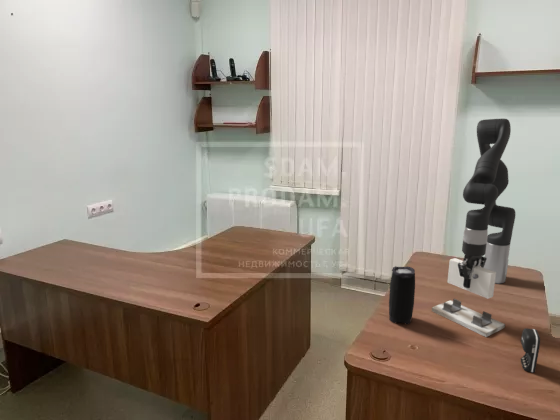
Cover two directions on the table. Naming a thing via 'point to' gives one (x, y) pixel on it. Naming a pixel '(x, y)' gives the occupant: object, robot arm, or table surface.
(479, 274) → the door
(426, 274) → the table surface
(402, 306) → the portable speaker
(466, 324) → the cabinet side
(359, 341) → the table surface
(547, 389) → the table surface
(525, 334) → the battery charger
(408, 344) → the table surface
